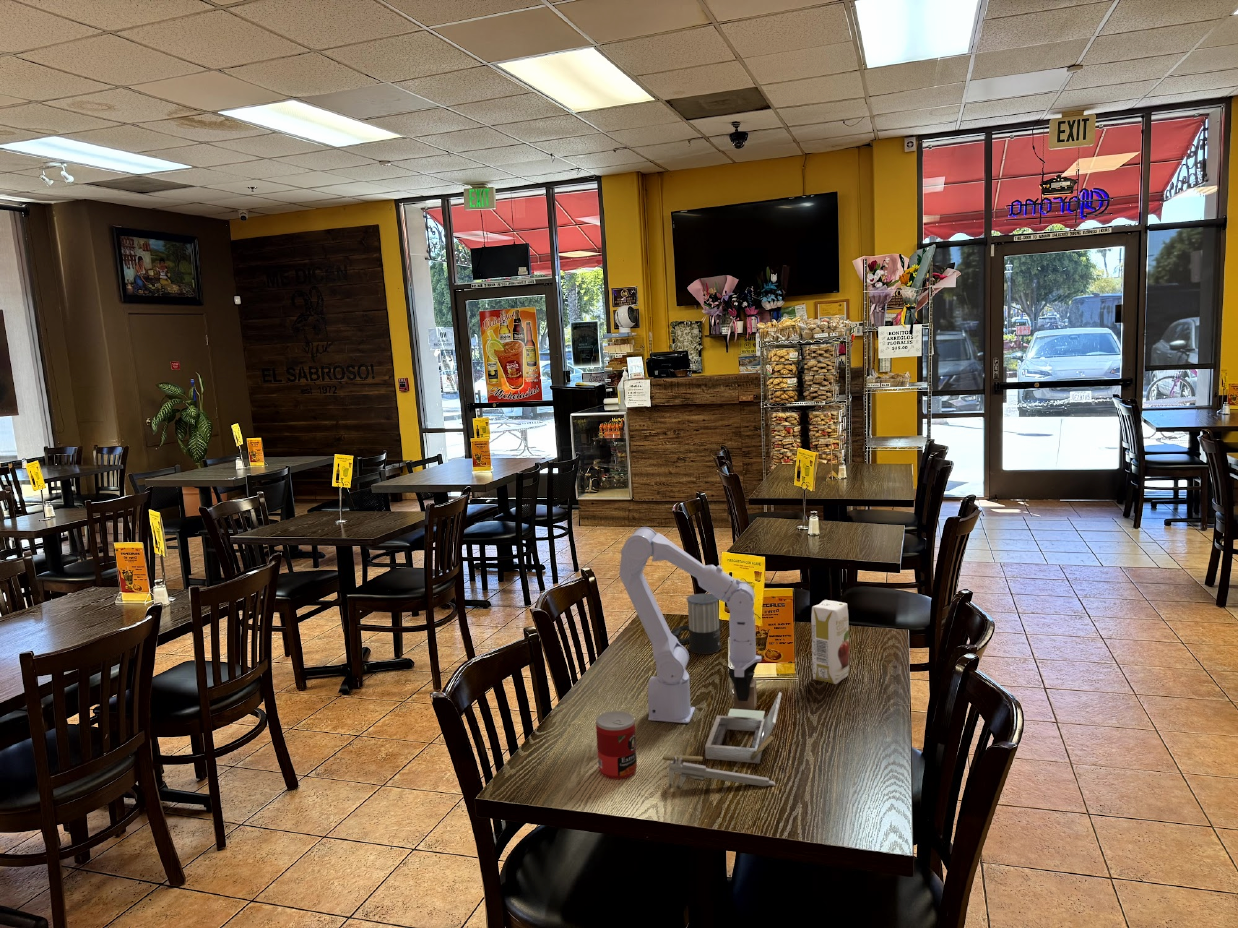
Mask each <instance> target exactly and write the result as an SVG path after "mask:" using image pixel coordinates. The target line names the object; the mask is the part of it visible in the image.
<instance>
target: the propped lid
mask: <svg viewBox="0 0 1238 928" xmlns="http://www.w3.org/2000/svg"><path fill="white" fill-rule="evenodd" d="M782 694H783V693H782V692H781V691H779V692H778V694H777V696H776V698H775V700H774V702H773V705H772V706H771V708H770V710H769V713H768V715H766V716H764V719H765V720H764V724H763V728H762V732H761V736H760V740H759V744H758V748H757V750H756V752H755V753H754V754H753V755H752V756H751V757H750V759H751V760H752V761H753V760H754V759H755V758H756V757H757V756H758V755H759V753H760V752H761V751H762V750H765V748H766V747H767V746H768V745H769V744H771V741H773V740H774V738H775V737H774V736H772V735H771V733H772V731H773V729H774V728H775V727H774V726H775V725H776V722H777V717H778V713H779V709H780V703H781V698H782ZM762 752H763V751H762Z"/></svg>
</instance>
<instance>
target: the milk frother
mask: <svg viewBox="0 0 1238 928" xmlns="http://www.w3.org/2000/svg"><path fill="white" fill-rule="evenodd" d="M719 600H720V599H718V598H717V597H715V596H713V595H712V594H710V593H695V594H692V595H688V596H687V598H686V601H687V611H688V613H687V614H688V625H681V626H678V627H676V628H674V629H673V630H670V631H671V633H672V634H673V635H674V636H675V637H676V638H677V639H678V641H679V643H680V644H681V645H682V644H687V643H689V644H688V645H689V646H688V650H689V651H690V652H691V653H695V654H698V655H699V654H700V655H710V654H715V653H714V652H716V653H718V652H719V650H720V649H721V650H722V645H721V636H720V632H721V630H722V619H721V620H720V619H719ZM720 601H721V600H720ZM685 631H686V632H688V636H687V637H686V638H682V639H680V636H681V635H682V634H681V633H682V632H685ZM721 650H720V651H721Z"/></svg>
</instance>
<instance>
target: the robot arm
mask: <svg viewBox="0 0 1238 928" xmlns="http://www.w3.org/2000/svg"><path fill="white" fill-rule="evenodd" d="M620 555H621V556H620V562H619V564H620V565H619V572H618V574H619V578H620V580H621V582H622V584H623V586H624V589H625V590H626V593H627V595H628V597H629V599H630V601H631V603H632V605H633V607H634V610H635V611H636V614H637V616H638V618H639V620H640V622H641V624H642V626H643V629H644V632H645V633H646V635H647V637H648V639H649V641H650V644H651V646H652V655H653V659H654V662H655V666H656V669H655V671H656V674H657V676H651V677H650V678H649V680H648V687H647V701H648V718H647V719H648V720H649V721H653V722H667V723H679V724H681V723H682V724H689V723H690V721H691V719H692V717H693V715H694V712H695V710H696V707H695V706H691V689H690V688H691V687H690V683H691V682H690V674H689V673H688V671H687V669H686V667H687V666H688V664H689V661H690V655H689V651H688V649H686V647H684V645H682V644H680V643H679V641H678V639H677V638H676V637H675V636H674V635H673V634H672V633H671V631H672V630H670V627H669V625H668V623H667V621H666V618H665V616H664V615H663V613H662V610H661V608H660V606H659V604H658V602H657V600H656V597H655V595H654V594H653V591H652V589H651V587H650V585H649V584H648V581H647V579H646V576H645V575H644V570H645V568H646V565H647V563H648V560H649V559H650V557H652V558H651V562H661V561H666V562H668V563H670V564H672V565H674V566H675V567H677V568H679V569H680V570H682V571H684V572H686V573H687V574H689V575H690V576H693V577H694V578H695V579H696V581H697V584H698V586H699V587H700V588H701V589H703V590H704V591H706V592H707V593H708V594H712V595H713V596H715V597H717V598H718V599H720V601H721V602H724V603H726V606H727V609H728V610H729V618H728V621H729V622H728V625H729V626H728V627H729V650H730V651H729V652H730V655H729V662H730V663H731V665H732V666H733V668H729V670H728V676H729V678H730V679H731V681H732V683H733V684H732V685H733V687H734V686H735V690H736V694H737V698H738V700H739V701H748V697H749V691H750V684H751V680H752V679H754V675H755V670H756V667H757V665H758V663H761V662H762V655H757V648H756V647H757V644H756V639H757V638H756V617H755V608H754V605H755V598H756V596H755V595H756V594H755V590H754V588H753V587H752V586H751V585H750V584H749V583H748V582H746V581H743V580H741V579H740V578H734V577H732V576H731V575H729V574H728V573H727V572H726V571H724V567H722V566H721V565H719V564H718V565H717V566H715V565H714V564H707V565H704V564H703V563H701V562H700V561H699V560H698V559H696V558H695V557H693V556H692V555H691V554H689V553H688V552H686V551H685V550H684V549H682V548H681V547H680V546H678V545H676V543H674V542H673V541H671V540H669V539H668V538H667V537H666V536H664V535H663V534H662V533H659V532H656V531H655V530H654V529H653V528H651V527H648V526H642V527H639V528H637V529H635V531H634V532H633V533H632V535H630V537H628V538H627V539H626V541H625V543H624V545H623V546H622V548H621V549H620Z"/></svg>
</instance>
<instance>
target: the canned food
mask: <svg viewBox="0 0 1238 928" xmlns="http://www.w3.org/2000/svg"><path fill="white" fill-rule="evenodd" d="M635 722H636V720H635V717H634V715H632V714H631V713H630V712H627V711H624V710H623V711H621V710H611V711H606V712H603V713H601V714H599V715H598V716H596V719H595V724H596V725H595V728H596V729H595V731H596V745H597V746H596V747H597V762H598V764H597V765H598V770H599V772H600V773H599V774H601V775H602V776H603V777H605V778H607V779H611V780H622V779H628V778H630V777H632V776H634V774H635V773H636V771H637V767H638V763H637V762H638V761H637V759H638V758H637V741H636V740H637V739H636V723H635Z"/></svg>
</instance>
